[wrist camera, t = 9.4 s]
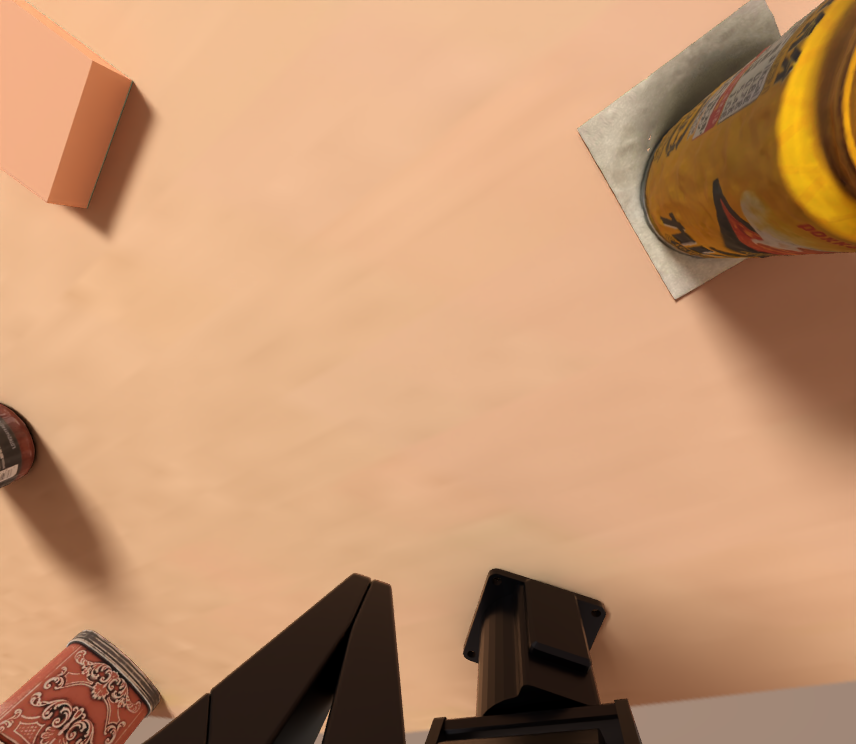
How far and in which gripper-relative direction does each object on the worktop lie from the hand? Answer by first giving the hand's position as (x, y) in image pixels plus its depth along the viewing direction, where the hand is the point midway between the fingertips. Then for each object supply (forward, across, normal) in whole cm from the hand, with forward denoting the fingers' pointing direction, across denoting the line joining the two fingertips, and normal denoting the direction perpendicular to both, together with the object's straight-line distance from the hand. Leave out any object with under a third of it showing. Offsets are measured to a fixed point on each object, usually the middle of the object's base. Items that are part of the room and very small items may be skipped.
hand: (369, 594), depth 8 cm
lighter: (+13, +19, +28) cm, 36 cm away
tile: (+12, +20, -8) cm, 25 cm away
